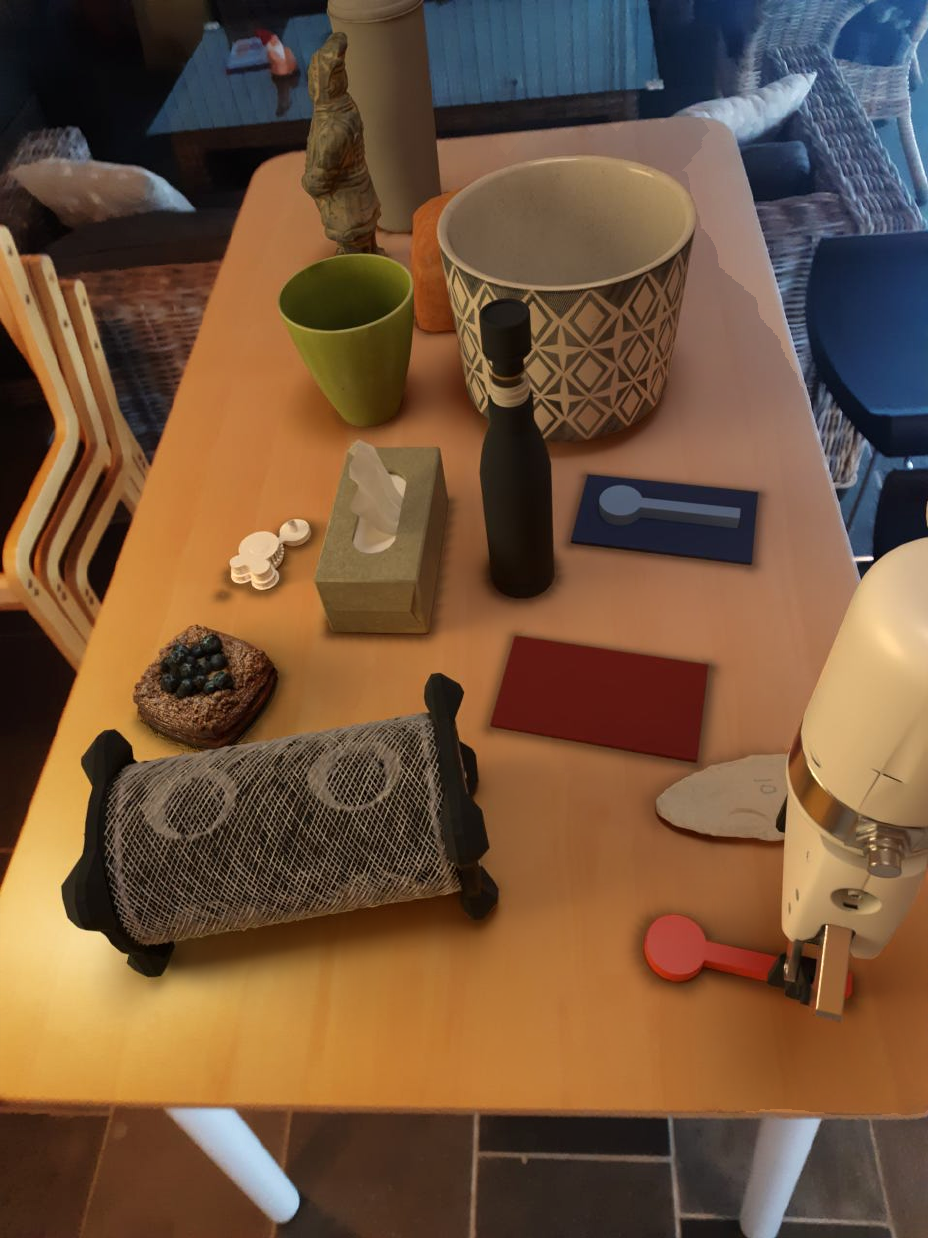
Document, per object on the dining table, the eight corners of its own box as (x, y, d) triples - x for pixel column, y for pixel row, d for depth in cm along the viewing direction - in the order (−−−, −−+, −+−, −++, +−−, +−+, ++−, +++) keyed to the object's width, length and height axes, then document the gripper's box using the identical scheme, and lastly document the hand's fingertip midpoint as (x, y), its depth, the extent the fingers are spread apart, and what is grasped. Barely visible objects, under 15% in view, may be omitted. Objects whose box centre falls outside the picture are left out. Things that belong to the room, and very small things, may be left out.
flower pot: (455, 390, 108) (440, 271, 96) (384, 464, 101) (357, 345, 89) (360, 358, 114) (334, 241, 102) (287, 425, 107) (249, 309, 95)
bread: (667, 308, 114) (678, 189, 102) (417, 339, 116) (398, 225, 103) (646, 252, 123) (654, 136, 111) (414, 281, 124) (396, 170, 112)
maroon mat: (707, 666, 80) (708, 664, 80) (696, 762, 74) (697, 760, 74) (515, 637, 84) (514, 635, 84) (490, 726, 79) (490, 724, 78)
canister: (445, 235, 131) (410, -48, 104) (362, 240, 133) (306, -38, 105) (452, 192, 139) (421, -82, 111) (373, 197, 140) (324, -71, 113)
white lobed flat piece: (303, 589, 91) (298, 575, 89) (222, 594, 92) (216, 581, 90) (312, 523, 97) (307, 509, 95) (236, 529, 97) (230, 515, 96)
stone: (842, 839, 69) (849, 828, 68) (666, 860, 70) (668, 849, 68) (810, 751, 74) (815, 739, 72) (646, 771, 74) (647, 759, 73)
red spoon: (846, 958, 64) (852, 951, 62) (846, 1021, 61) (852, 1016, 60) (648, 915, 67) (650, 908, 66) (640, 973, 64) (642, 967, 63)
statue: (332, 252, 131) (280, 23, 108) (394, 250, 130) (354, 17, 106) (317, 295, 125) (258, 60, 101) (382, 293, 123) (337, 54, 100)
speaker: (154, 811, 77) (77, 722, 65) (476, 755, 77) (458, 656, 65) (138, 989, 67) (45, 922, 56) (504, 925, 68) (490, 845, 56)
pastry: (226, 765, 79) (205, 732, 74) (126, 720, 83) (99, 685, 78) (294, 672, 84) (277, 635, 80) (196, 633, 89) (175, 597, 84)
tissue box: (362, 499, 98) (332, 383, 86) (449, 499, 97) (430, 381, 84) (330, 635, 87) (290, 523, 74) (428, 637, 85) (403, 524, 73)
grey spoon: (739, 508, 91) (741, 497, 90) (736, 539, 89) (738, 528, 87) (602, 493, 94) (603, 482, 93) (595, 523, 92) (596, 512, 91)
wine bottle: (485, 594, 88) (452, 335, 64) (498, 547, 92) (471, 286, 68) (548, 601, 87) (539, 339, 63) (559, 553, 90) (553, 289, 67)
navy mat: (757, 494, 93) (758, 491, 92) (751, 564, 87) (751, 562, 87) (587, 476, 97) (587, 473, 97) (570, 542, 91) (570, 540, 91)
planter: (630, 491, 95) (642, 310, 78) (420, 434, 104) (390, 261, 87) (706, 351, 108) (731, 171, 91) (514, 312, 117) (504, 141, 100)
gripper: (986, 982, 34) (865, 1075, 47) (956, 631, 44) (863, 790, 57) (783, 937, 36) (721, 1039, 49) (798, 608, 46) (744, 768, 59)
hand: (798, 904), depth 53 cm, fingers open, 9 cm apart
